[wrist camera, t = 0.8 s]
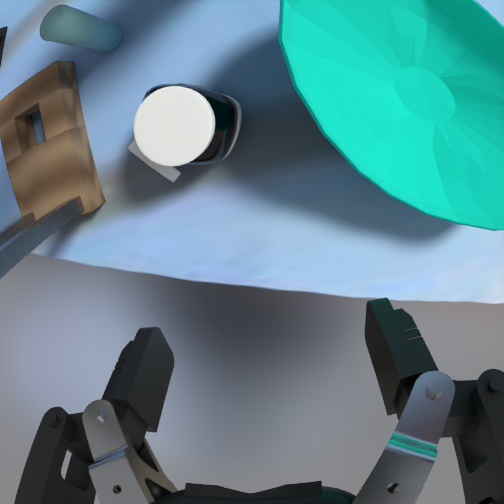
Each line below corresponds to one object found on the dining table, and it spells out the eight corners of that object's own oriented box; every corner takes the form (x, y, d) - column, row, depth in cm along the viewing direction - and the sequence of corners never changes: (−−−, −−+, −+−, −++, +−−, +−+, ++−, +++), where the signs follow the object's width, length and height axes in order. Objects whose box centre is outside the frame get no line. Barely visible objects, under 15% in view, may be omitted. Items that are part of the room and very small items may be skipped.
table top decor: (245, 145, 33) (235, 166, 21) (299, -46, 20) (314, -101, 8) (484, 229, 36) (533, 271, 24) (525, 83, 23) (582, 92, 12)
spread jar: (250, 98, 30) (243, 92, 20) (226, 187, 35) (211, 223, 25) (153, 81, 29) (106, 74, 19) (137, 167, 34) (90, 195, 24)
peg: (95, 32, 25) (39, 17, 15) (121, 20, 25) (69, -3, 14) (98, 56, 27) (40, 47, 16) (124, 45, 27) (71, 28, 16)
